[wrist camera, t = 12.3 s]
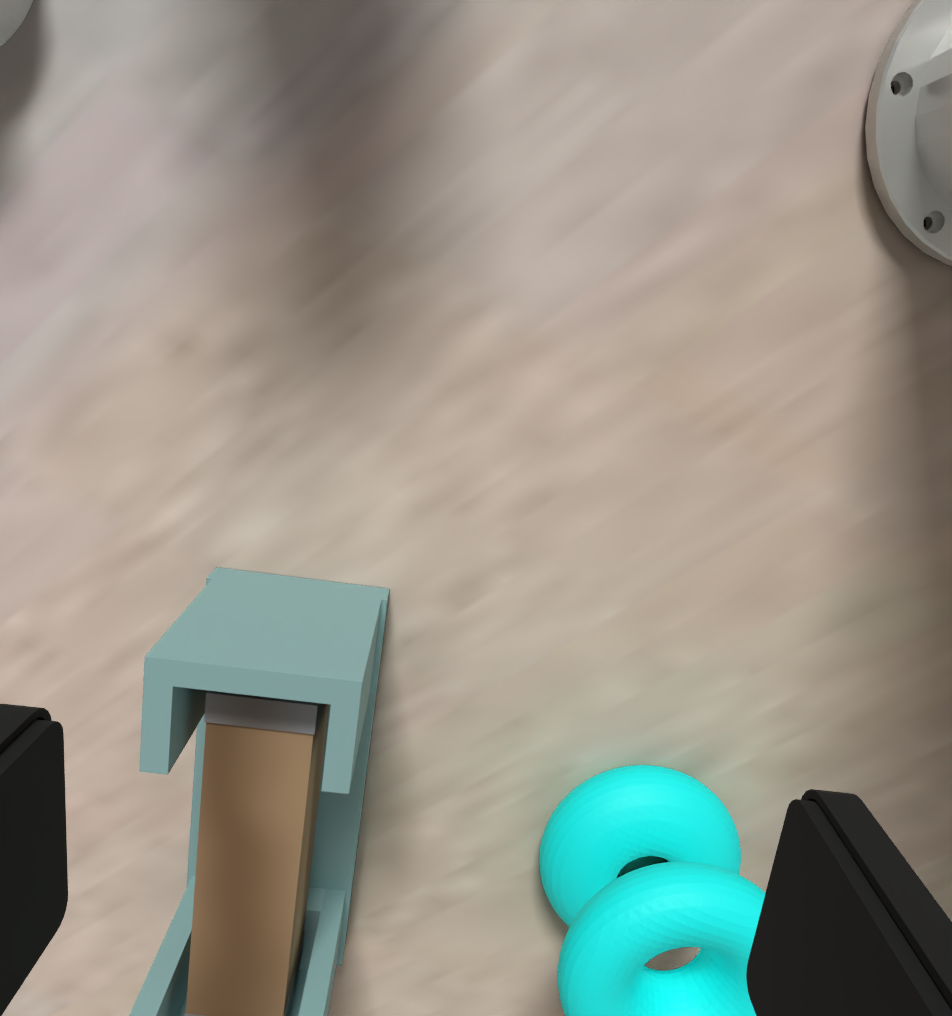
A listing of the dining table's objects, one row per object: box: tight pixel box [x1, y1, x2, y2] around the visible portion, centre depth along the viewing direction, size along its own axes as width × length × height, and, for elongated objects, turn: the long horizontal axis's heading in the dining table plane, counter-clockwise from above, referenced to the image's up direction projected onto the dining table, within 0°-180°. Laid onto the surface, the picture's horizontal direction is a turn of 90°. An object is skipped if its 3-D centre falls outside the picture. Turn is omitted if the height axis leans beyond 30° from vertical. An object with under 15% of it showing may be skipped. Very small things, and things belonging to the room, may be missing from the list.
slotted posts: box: [129, 567, 389, 1016], centre depth 35 cm, size 8×20×10 cm, turn 172°
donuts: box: [539, 765, 766, 1016], centre depth 36 cm, size 10×10×10 cm
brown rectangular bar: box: [184, 690, 329, 1016], centre depth 34 cm, size 4×16×5 cm, turn 172°
